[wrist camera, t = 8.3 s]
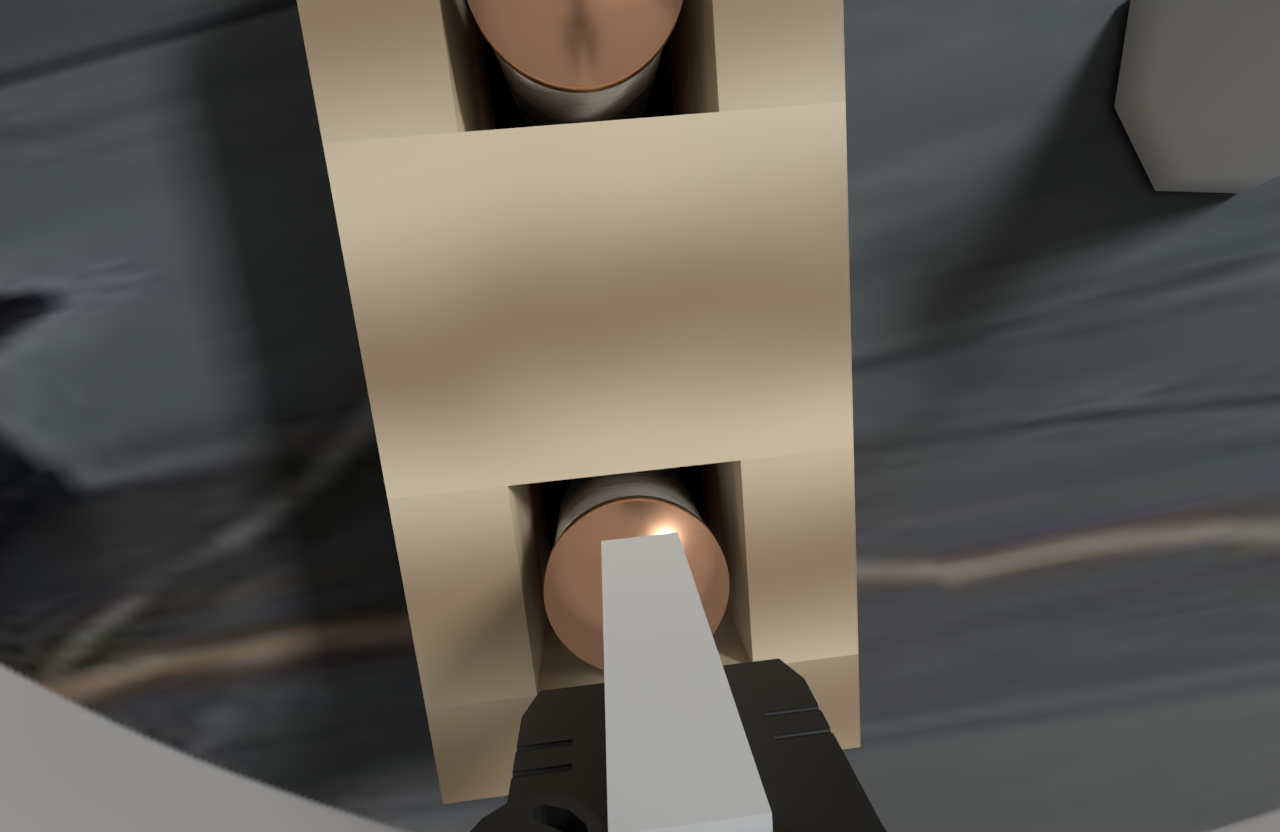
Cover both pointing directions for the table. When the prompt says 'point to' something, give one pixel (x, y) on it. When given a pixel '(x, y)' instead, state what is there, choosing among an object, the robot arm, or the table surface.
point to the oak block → (598, 337)
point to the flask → (1203, 92)
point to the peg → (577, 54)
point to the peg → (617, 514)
